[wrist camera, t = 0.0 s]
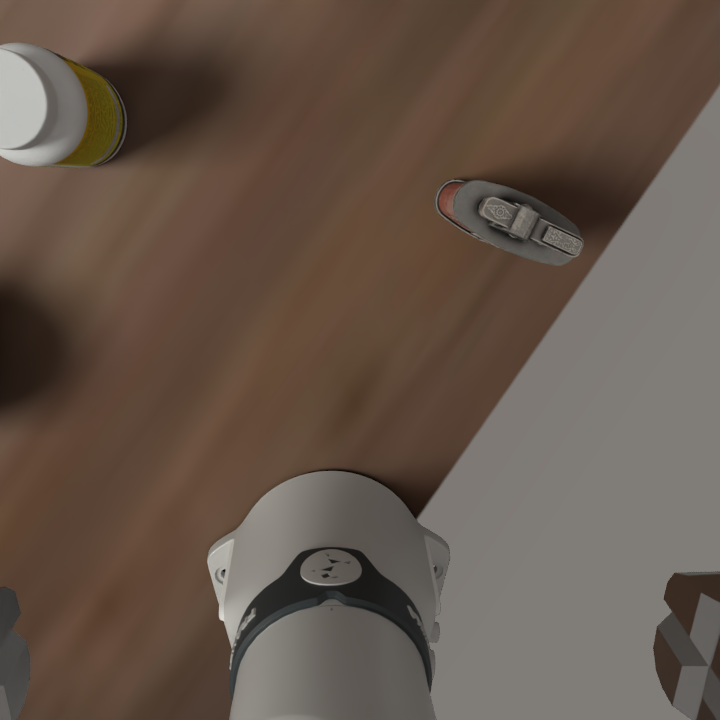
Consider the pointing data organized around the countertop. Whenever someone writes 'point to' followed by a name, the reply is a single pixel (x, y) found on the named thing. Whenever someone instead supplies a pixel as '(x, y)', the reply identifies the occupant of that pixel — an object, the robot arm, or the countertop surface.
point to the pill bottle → (56, 110)
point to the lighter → (509, 220)
